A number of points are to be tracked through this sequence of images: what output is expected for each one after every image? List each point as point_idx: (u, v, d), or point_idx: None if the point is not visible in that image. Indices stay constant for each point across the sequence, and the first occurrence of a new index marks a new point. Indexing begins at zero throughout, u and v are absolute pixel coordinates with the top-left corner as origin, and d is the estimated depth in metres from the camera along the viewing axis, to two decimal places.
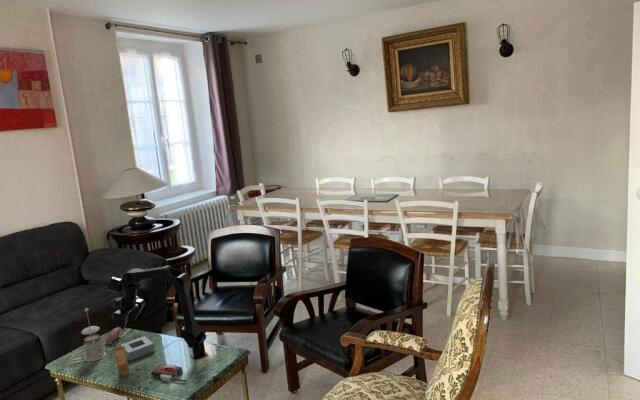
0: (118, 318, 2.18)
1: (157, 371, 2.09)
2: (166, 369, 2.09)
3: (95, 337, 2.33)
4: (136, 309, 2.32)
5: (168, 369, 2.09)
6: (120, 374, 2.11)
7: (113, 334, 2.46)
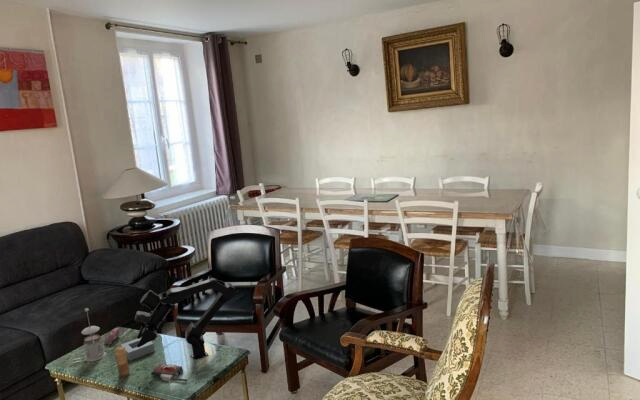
0: (150, 336, 2.06)
1: (157, 371, 2.09)
2: (166, 369, 2.10)
3: (95, 337, 2.33)
4: None
5: (168, 369, 2.09)
6: (120, 374, 2.11)
7: (112, 334, 2.46)
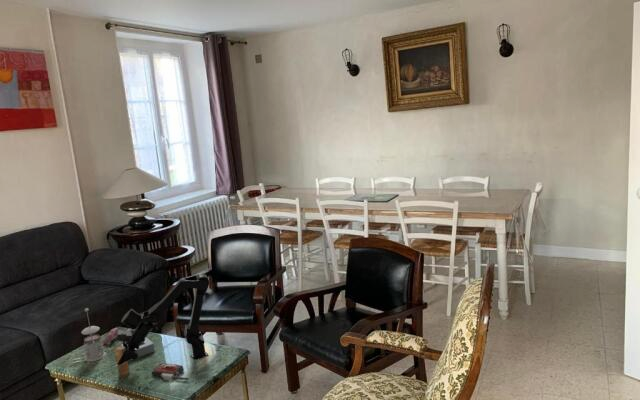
0: (131, 356, 2.04)
1: (158, 370, 2.10)
2: (167, 368, 2.10)
3: (95, 337, 2.33)
4: None
5: (169, 368, 2.10)
6: (120, 374, 2.11)
7: (111, 334, 2.46)
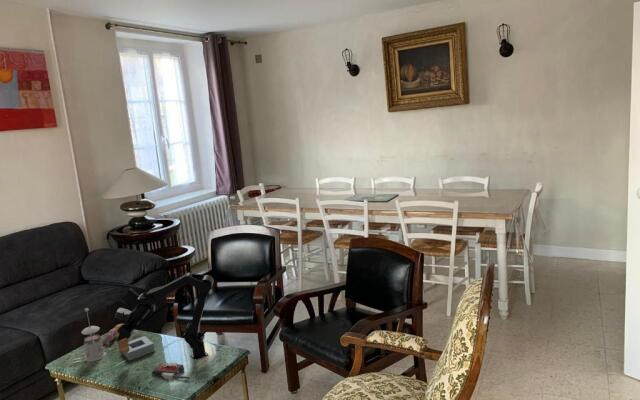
0: (124, 334, 2.10)
1: (158, 370, 2.10)
2: (167, 367, 2.11)
3: (95, 337, 2.33)
4: None
5: (170, 367, 2.11)
6: (119, 350, 2.19)
7: (110, 334, 2.46)
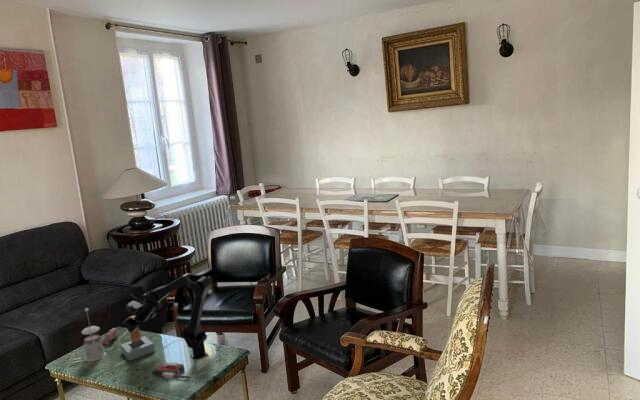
0: (128, 327, 2.21)
1: (159, 369, 2.10)
2: (168, 367, 2.11)
3: (95, 337, 2.33)
4: None
5: (170, 367, 2.11)
6: (131, 340, 2.32)
7: (110, 334, 2.46)
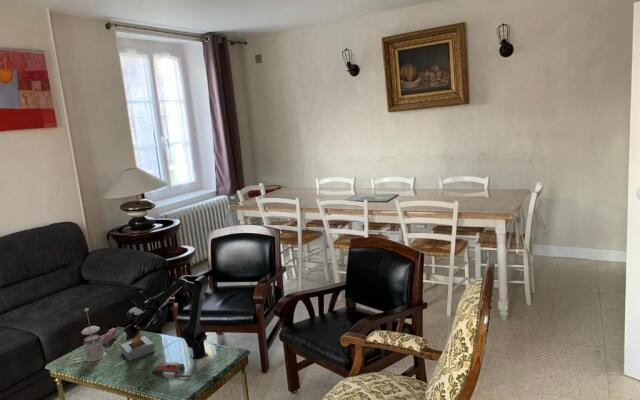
0: (129, 334, 2.22)
1: (159, 369, 2.11)
2: (168, 366, 2.11)
3: (95, 337, 2.33)
4: None
5: (170, 366, 2.11)
6: None
7: (109, 334, 2.46)
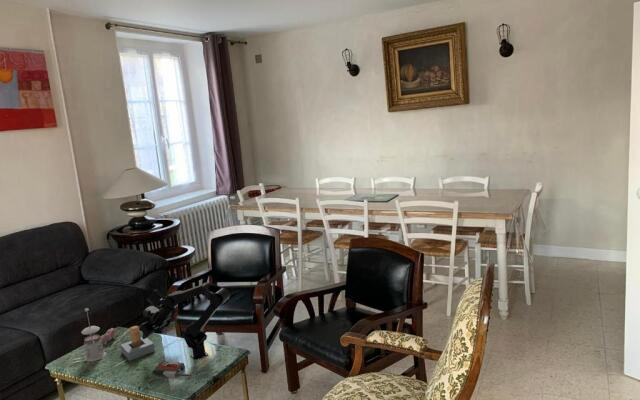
0: (144, 332, 2.20)
1: (159, 368, 2.11)
2: (168, 366, 2.12)
3: (95, 337, 2.33)
4: None
5: (171, 366, 2.12)
6: None
7: (108, 335, 2.46)
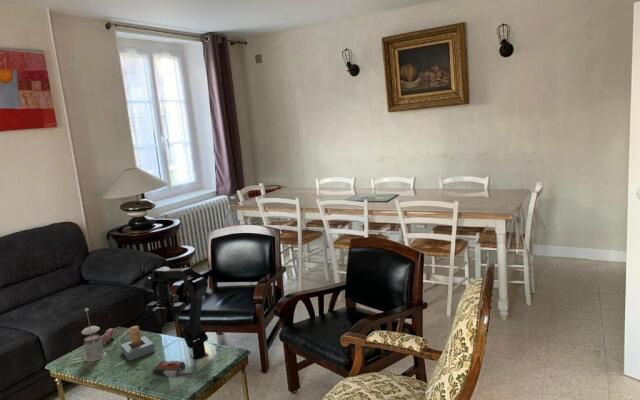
0: None
1: (160, 368, 2.12)
2: (169, 365, 2.12)
3: (95, 337, 2.33)
4: None
5: (171, 365, 2.12)
6: None
7: (107, 335, 2.46)
